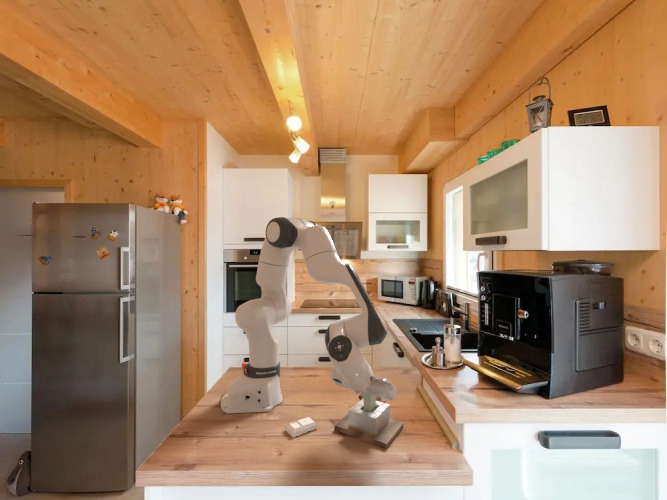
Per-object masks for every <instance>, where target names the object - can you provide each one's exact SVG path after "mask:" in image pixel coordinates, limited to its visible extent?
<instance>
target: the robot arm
mask: <svg viewBox="0 0 667 500" xmlns="http://www.w3.org/2000/svg"><path fill="white" fill-rule="evenodd" d="M335 245H336V244H335V243H334V241H333V238H332V237H331V235H330V233H329V231H328V229H327V228H325V226H323V225H319V224H317V222H315V221H312V220H307V219H303V218H297V217H295V218H294V217H293V218H292V217H284V216H280V217H274V218H272V219H270V220H269V221H268V223H267V225H266V228H265V238H264V240H263V243H262V246H261V249H260V254H259V259H258V264H257V270H256V276H255V282H256V284H257V285H258V286H259V287H260V289H261V297H260V298H259V297H258V298H255V299H251V300H248V301H246V302H244V303H242V304H240V305H239V306H238V307H236V310H235V315H234V318H235V323H236V324H237V326H238V328H239V329H241V330H242V331H243V332H244V333H245V334H246V337H247V341H248V351H249V352H248V355H249V356H248V357H249V359H248V360H249V361H248V363H247V362H246V361H243V362H242V363H241V368H242V372H243V373H242V374H241V375H240V376H239V377H237V378H236V379H235V380H233V381H232V382H231V383H230V385H229V387H228V390H227V393H226V394H225V395H224V396H222V398H221V400H220V409H221V410H222V412H224V413H225V414H247V413H265V412H270V411H271V410H272V409H273V408H274V407H276V406H278V405H279V404H281V403H282V401H283V400H284V399H283V395H282V390H281V386H280V385H281V384H280V376H281V362H280V342H279V340H278V338H277V337H274V336H273V333H272V326H273V325H274V326H275V325H277V324H279V323H282V322H284V321H285V320H286V319H288V318H289V317H290V316H291V314H292V310H293V307H292V303H291V300H289V298H288V296H287V290H286V285H287V284H286V283H287V277H288V271H289V265H290V264H289V263H290V258H291V254H292V252H293V251H294V250H295V251H296V250H298V251H301V252H302V256H303V260H304V263H305V267H306V270H307V272H308V274H309V276H310V278H311V279H312V280H314V281H316V282H318V283H320V284H324V285H339V286H340V285H341V286H346V287H347V288H349V289H350V290H351V292H352V294H353V296H354V297H355V300H356V302H357V303H358V305H359V307H360V309H361V313H359V314H356V315H354V316H350V317H348V318H343V319H342V320H337V321H335V322H332V323H330V324H329V325H328V327H327V329H326V331H325V334H324V343H325V348H326V352H327V354H328V358H329V360H330V362H331V364H332V366H333V367H332V370H331V373H330V377H329V378H330V380H331V381H333V382H334V384H335V385H337V386H338V387H341V388H345V389H349V390H351V391H353V392H354V394H355V393H356V394H358V395H360V394H361V392H362V393H366V394H370V395H373V396H377V397H380V399H381V400H383V401H385V402H386V401H387V400H388V401H395V399H396V396H397V392H398V389H397V388H396V386H395V384H394V383H393V382H392V381H391V380H390V379H387V378H385V377H381V376H378V375H374V372H373V369H372V367H371V365H370V363H369V362H368V361H367V359H365V356H364V354H363V352H362V351H361V349H363V348H365V347H369V346H370V347H371V346H375V345H379V344H382V343H383V341H384V340H385V338H386V337H387V334H388V328H387V324H386V321H385V320H384V318H383V316H382V315H381V314H380V312H379V311H378V310H377V308H376V306H375V304H374V303H373V300H372V299H371V297H370V295H369V292H367V290H366V287H365V285H364V284H363V282H362V280H361V279H360V277H359V275H358V273H357V272H356V270H355V269H354V267H353V266H352V265H351V264H349V263H345V262H344V261H343V260H342V259H341V258H340V256H339V253H338V251H337V249H336V246H335Z"/></svg>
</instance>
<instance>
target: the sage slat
mask: <svg viewBox="0 0 667 500" xmlns="http://www.w3.org/2000/svg"><path fill="white" fill-rule="evenodd" d="M375 410H376V396H373V395H370V394H366V393H364V411H367V412H370V413H373V412H374V411H375Z"/></svg>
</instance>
